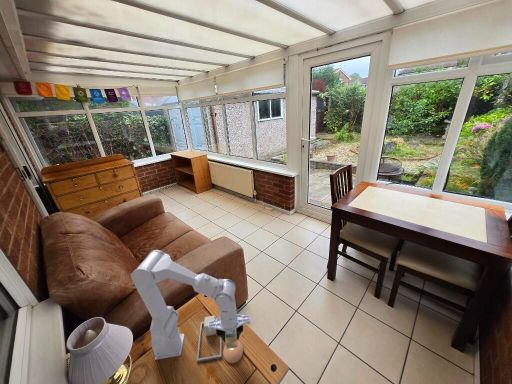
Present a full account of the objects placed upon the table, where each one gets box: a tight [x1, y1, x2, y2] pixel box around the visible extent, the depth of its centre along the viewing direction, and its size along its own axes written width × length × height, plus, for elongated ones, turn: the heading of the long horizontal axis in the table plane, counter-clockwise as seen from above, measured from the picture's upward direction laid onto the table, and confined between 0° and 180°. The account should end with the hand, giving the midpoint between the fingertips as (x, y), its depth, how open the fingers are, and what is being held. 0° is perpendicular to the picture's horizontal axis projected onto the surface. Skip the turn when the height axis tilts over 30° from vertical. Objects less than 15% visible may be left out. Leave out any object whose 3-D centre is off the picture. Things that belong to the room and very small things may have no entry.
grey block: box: [203, 315, 217, 337], centre depth 85 cm, size 4×4×6 cm
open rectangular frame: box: [196, 321, 223, 363], centre depth 82 cm, size 9×14×1 cm, turn 8°
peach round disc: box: [222, 340, 244, 364], centre depth 78 cm, size 8×8×1 cm
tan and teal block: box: [225, 329, 238, 349], centre depth 74 cm, size 4×4×6 cm
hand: (231, 337), depth 75 cm, fingers closed on tan and teal block, 4 cm apart
